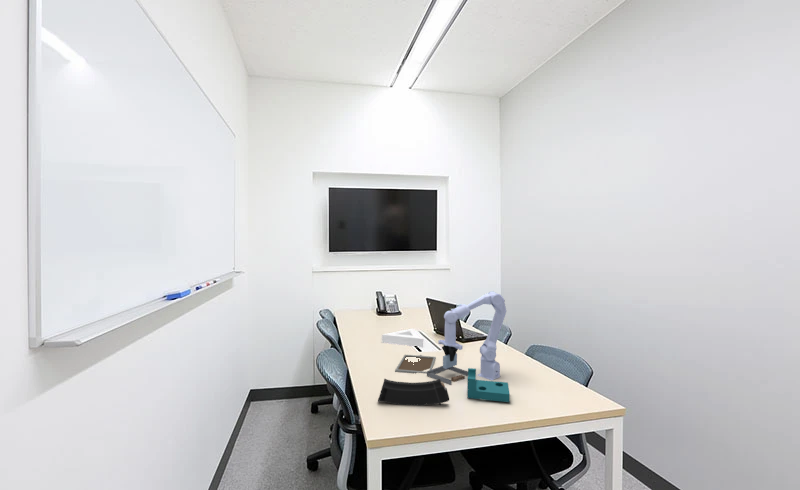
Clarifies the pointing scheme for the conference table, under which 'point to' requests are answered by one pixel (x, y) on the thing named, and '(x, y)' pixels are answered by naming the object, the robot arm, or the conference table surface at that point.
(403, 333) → the triangle block
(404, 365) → the picture frame
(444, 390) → the magazine
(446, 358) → the panel
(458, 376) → the offcut top
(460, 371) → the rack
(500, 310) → the robot arm
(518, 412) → the conference table surface
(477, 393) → the teal l-shaped bracket
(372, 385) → the conference table surface
